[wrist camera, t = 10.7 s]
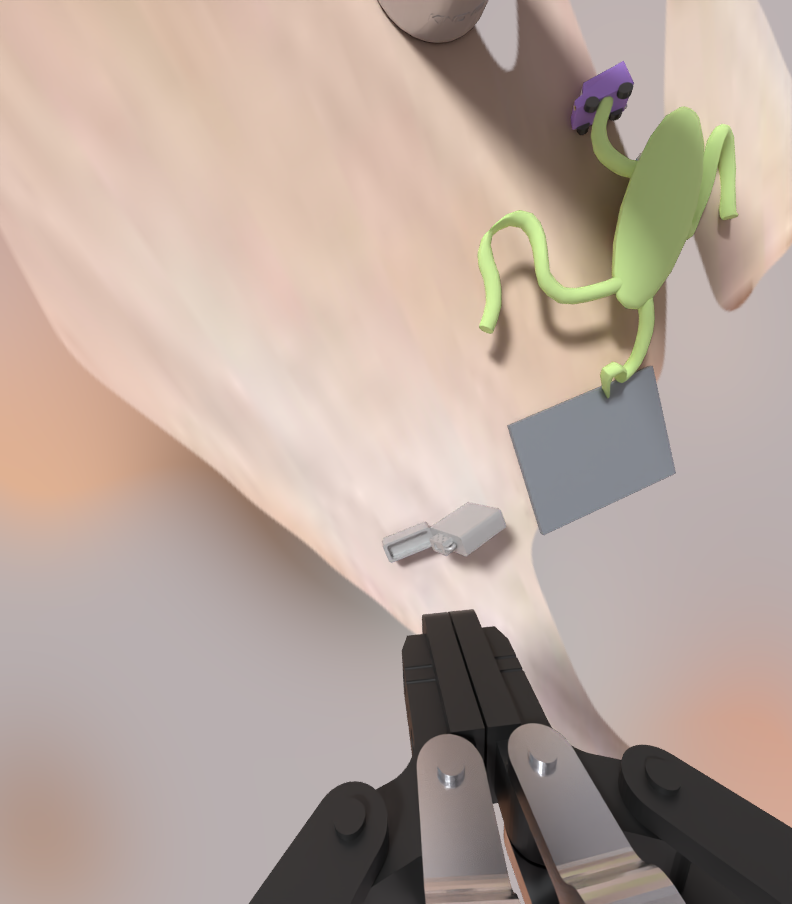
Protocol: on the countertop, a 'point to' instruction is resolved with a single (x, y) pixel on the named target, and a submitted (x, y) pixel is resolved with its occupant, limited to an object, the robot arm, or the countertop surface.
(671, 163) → the figurine
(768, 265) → the countertop surface
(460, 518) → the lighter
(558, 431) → the slate pad
